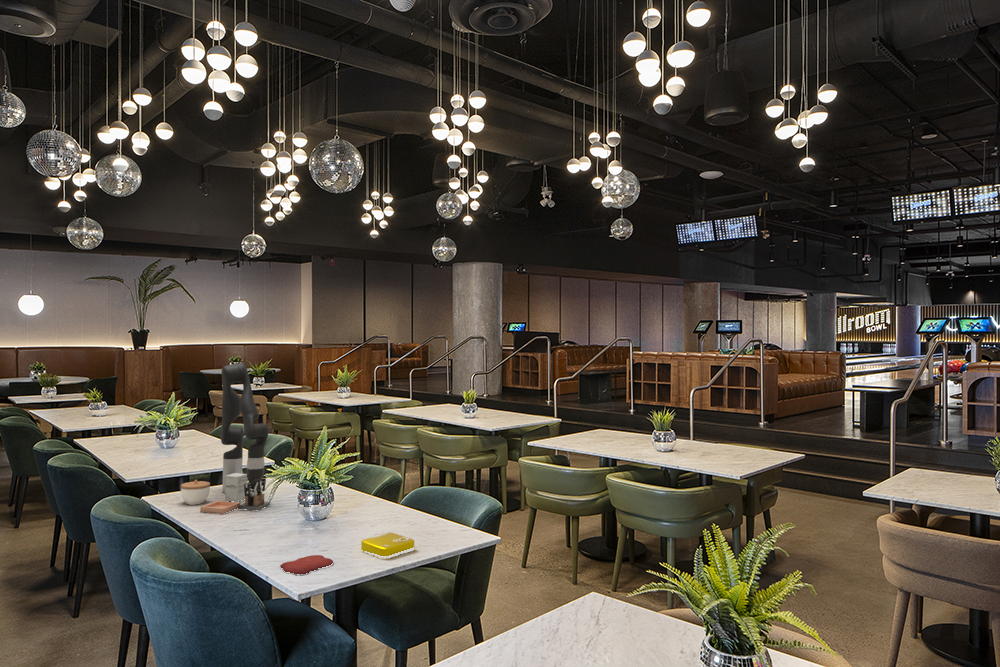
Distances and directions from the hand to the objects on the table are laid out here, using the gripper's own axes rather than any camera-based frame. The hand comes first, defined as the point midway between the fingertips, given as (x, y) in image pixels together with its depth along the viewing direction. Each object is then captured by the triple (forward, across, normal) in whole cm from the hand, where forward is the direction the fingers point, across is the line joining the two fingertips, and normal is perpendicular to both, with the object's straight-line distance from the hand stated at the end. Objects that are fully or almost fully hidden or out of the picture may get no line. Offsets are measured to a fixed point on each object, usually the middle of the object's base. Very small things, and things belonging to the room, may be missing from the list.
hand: (254, 503), depth 292 cm
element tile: (+3, +42, +83) cm, 94 cm away
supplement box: (+2, -10, -17) cm, 20 cm away
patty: (+3, +64, +63) cm, 90 cm away
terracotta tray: (+2, +8, -12) cm, 15 cm away
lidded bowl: (+2, 0, -32) cm, 32 cm away
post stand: (+2, 0, 0) cm, 2 cm away
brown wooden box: (0, 0, 0) cm, 0 cm away
